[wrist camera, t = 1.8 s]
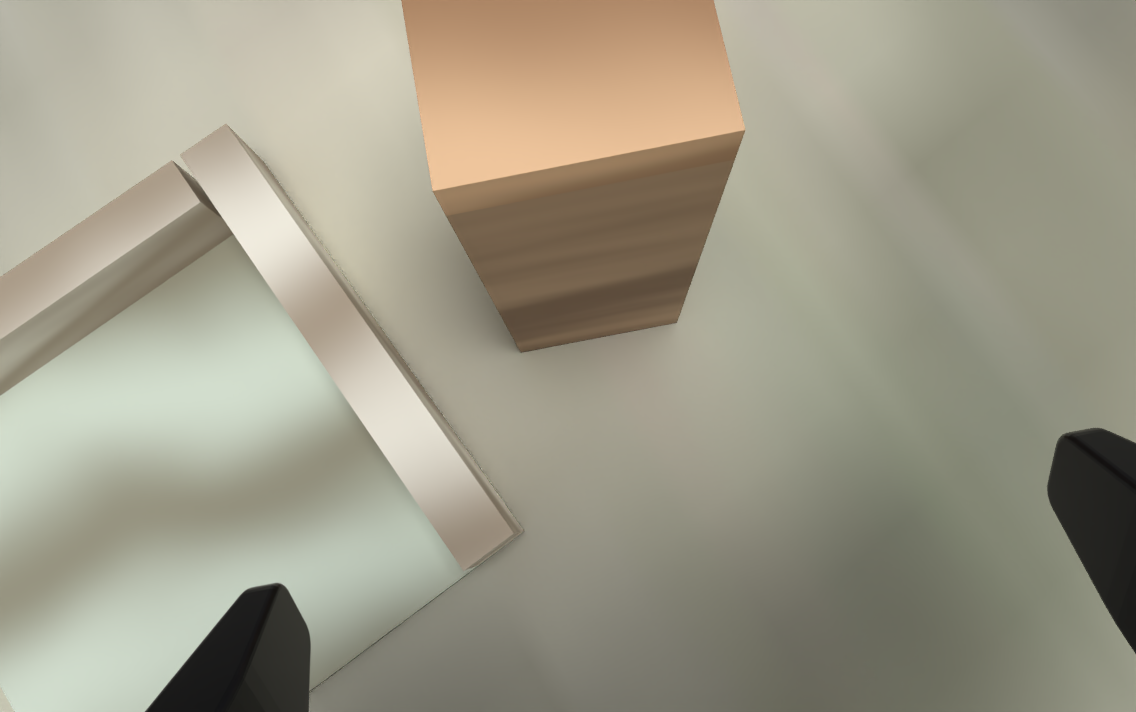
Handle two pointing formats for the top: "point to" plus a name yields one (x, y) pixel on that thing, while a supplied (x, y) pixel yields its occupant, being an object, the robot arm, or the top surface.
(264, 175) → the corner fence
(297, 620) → the robot arm
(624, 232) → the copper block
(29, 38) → the top surface
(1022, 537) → the top surface
